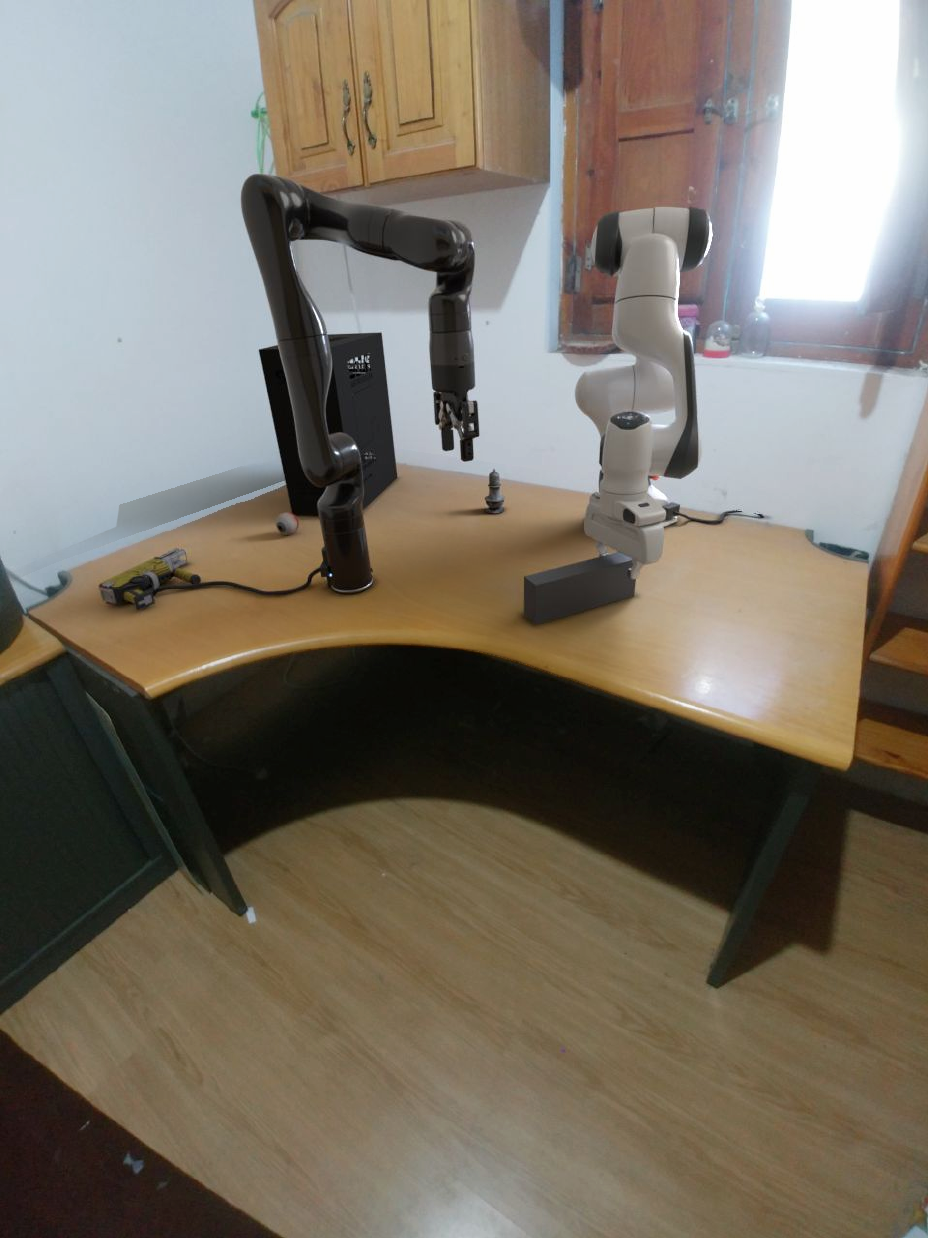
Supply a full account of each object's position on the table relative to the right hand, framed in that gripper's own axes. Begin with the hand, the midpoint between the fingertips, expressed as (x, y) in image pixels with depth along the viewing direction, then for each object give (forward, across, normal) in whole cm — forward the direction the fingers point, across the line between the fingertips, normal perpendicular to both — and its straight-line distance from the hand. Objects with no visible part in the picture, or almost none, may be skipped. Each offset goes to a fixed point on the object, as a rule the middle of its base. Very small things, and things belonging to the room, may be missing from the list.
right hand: (617, 569), depth 122 cm
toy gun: (+6, -56, -85) cm, 102 cm away
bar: (+6, -1, -8) cm, 11 cm away
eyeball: (+5, -74, -53) cm, 91 cm away
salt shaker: (+5, -60, +3) cm, 60 cm away
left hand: (-24, -13, -28) cm, 40 cm away
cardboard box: (+5, -98, -30) cm, 102 cm away
